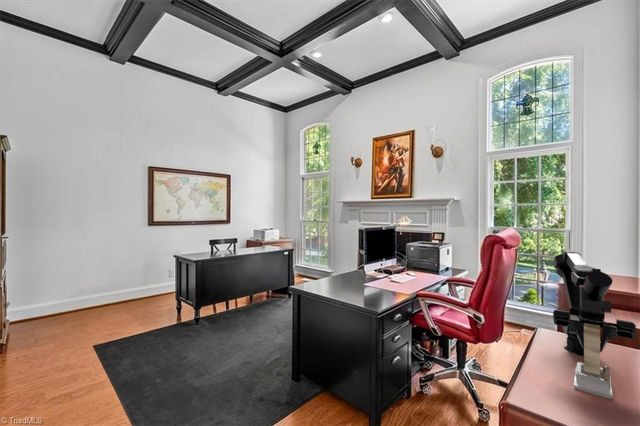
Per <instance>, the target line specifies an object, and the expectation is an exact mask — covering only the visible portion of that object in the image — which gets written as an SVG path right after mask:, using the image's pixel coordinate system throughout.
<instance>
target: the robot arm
mask: <svg viewBox="0 0 640 426" xmlns="http://www.w3.org/2000/svg"><path fill="white" fill-rule="evenodd" d="M552 266H553V268H555V272H556V274H557V275H558V276H560V277H561V278H562V282H563V286H564V290H565V295H566V298H567V299H566V300H567V304H568V308H569V310H568V311H567V310H561V309H556V308H555V309H554V310H553V312H552V313H553V314H552V318H553V324H554V325H556V326H560V327H562V329H563V332H564V333H565V334H566V335H567V337H566V346H563V348H564V349H565V350H568V351H570V352H572V353H573V354H574V355H577V356H584V323H587V324H592V325H598V326H600V329H601V335H600V353H602V352H604V349H605V347H606V345H607V343H608V342H609V341H610V340H611V339H616V338H617V336H618V337H620V338H623V339H628V340H636V334H637V326H636V323H635V322H633V321H629V320H623V319H618V318H615V323H614V322H609V321H605V319H606V314H607V313H608V314H611V313H612V301H608V300H605V299H604V296H606V295H607V293H608V292H609V290H610V287H611V285H612V284H613V279H612V277H611V276H610V275H609V274H607V273H606V272H603V271H602V270H601V268H595V267H592V266H589V265H588V264H587V263H586V262H585V260H584V258H583V257H582V256H581V253H580V252H579V251H572V250H568V251H567V250H566V251H563V252H562V253H560V254H557V255H555V256H554V258H553V260H552ZM580 287H581V288H580ZM605 313H606V314H605Z"/></svg>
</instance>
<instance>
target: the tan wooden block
mask: <svg viewBox="0 0 640 426" xmlns="http://www.w3.org/2000/svg"><path fill="white" fill-rule="evenodd" d="M600 342H601V328H600V326H598V325H592V324H587V323H584V355H583V362H584V371H586V372H590V373H594V374H598V375H600V368H601V352H600Z"/></svg>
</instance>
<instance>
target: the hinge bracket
mask: <svg viewBox="0 0 640 426" xmlns="http://www.w3.org/2000/svg"><path fill="white" fill-rule="evenodd" d="M574 371H575V373H574V380H573V381H574V382H573V389H575V390H579V391H582V392H586V393H589V394H593V395H596V396H599V397H602V398H607V399H608V400H609V399H610V400H613V389H612V382H611V373H610V366H608V365H605V364H604V365H602V367H600V375H598V374H594V373H590V372H586V371H584V363H583V362H580V361H579V362H578V361H577V363H576V365H575V370H574Z"/></svg>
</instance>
